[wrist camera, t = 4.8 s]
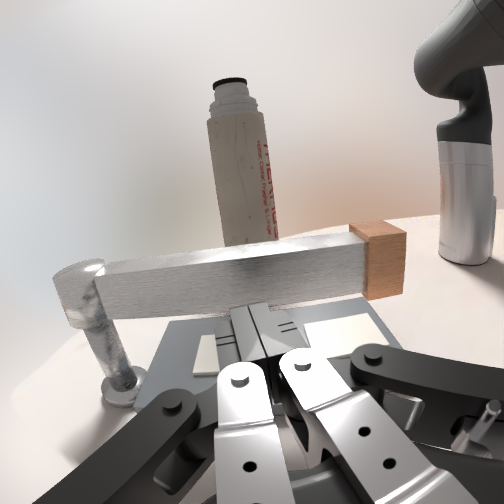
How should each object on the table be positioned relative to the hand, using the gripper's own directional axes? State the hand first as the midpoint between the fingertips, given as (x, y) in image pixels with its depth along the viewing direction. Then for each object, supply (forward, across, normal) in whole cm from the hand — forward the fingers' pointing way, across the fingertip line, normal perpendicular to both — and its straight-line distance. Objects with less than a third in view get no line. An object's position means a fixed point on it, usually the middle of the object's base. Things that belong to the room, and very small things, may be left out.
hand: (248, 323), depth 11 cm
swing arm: (+5, +1, +2) cm, 6 cm away
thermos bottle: (+30, -5, +9) cm, 31 cm away
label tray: (+8, -2, +9) cm, 12 cm away
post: (+7, +10, +9) cm, 15 cm away
